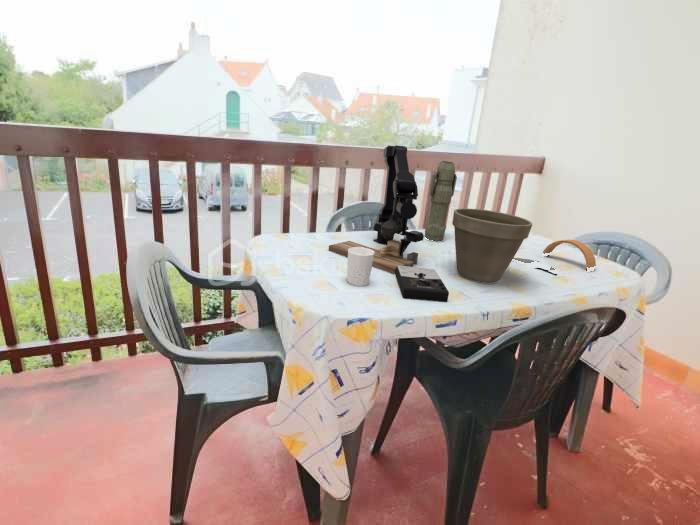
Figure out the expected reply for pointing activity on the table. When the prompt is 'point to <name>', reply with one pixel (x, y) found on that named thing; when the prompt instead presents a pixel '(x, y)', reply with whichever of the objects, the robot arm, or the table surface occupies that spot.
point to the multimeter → (421, 284)
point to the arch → (581, 246)
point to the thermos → (440, 200)
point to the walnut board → (377, 257)
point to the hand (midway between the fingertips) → (394, 253)
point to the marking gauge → (392, 248)
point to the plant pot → (487, 242)
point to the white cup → (359, 265)
